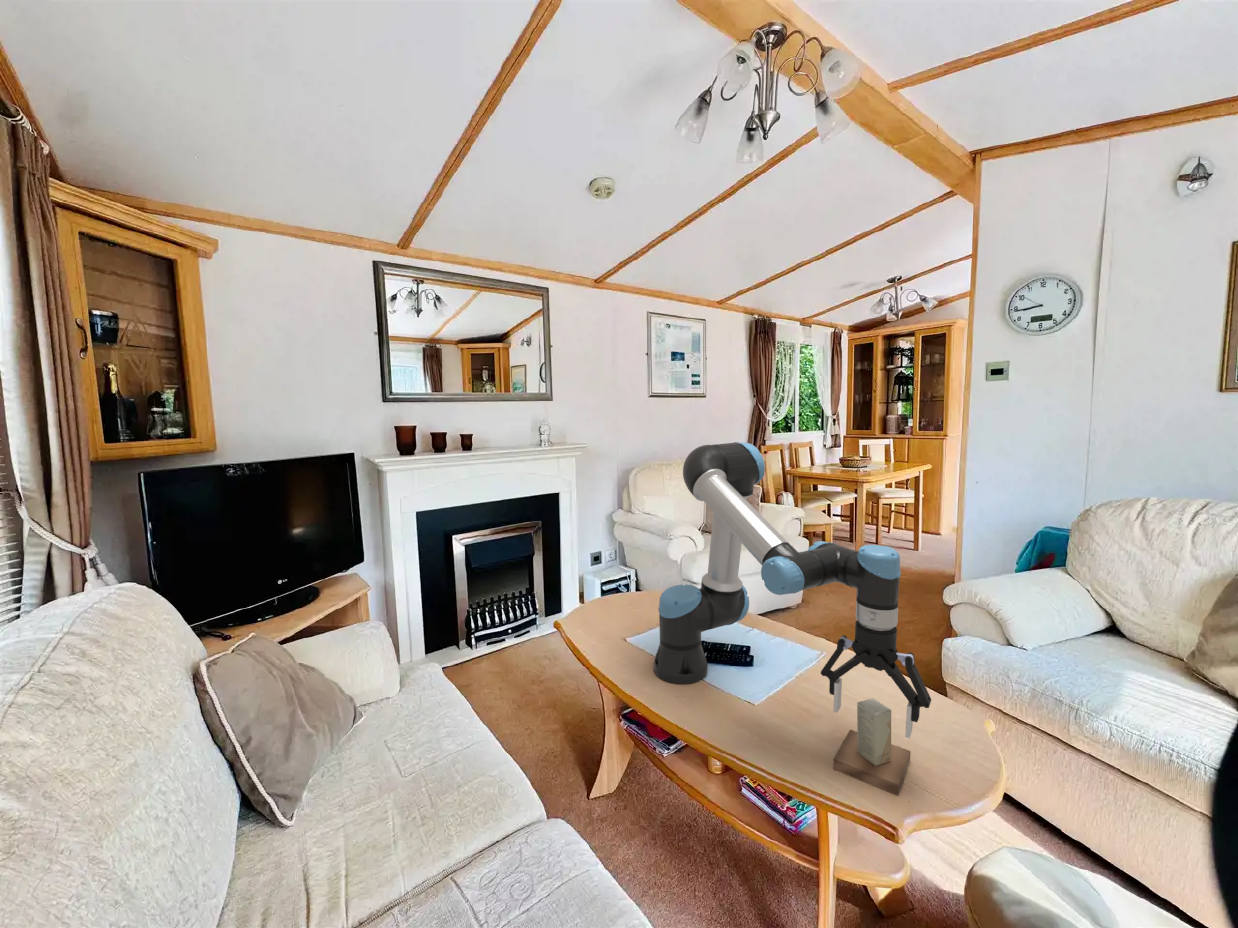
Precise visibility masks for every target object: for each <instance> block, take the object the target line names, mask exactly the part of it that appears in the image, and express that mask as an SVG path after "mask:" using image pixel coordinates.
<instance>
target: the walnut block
mask: <svg viewBox="0 0 1238 928" xmlns="http://www.w3.org/2000/svg"><path fill="white" fill-rule="evenodd" d="M911 754H912V753H911V750H909V749H906V748H905V747H904V748H903V747H901V746H898V745H895V744H892V743H891V761H888V762H886V763H883V764H880V765H877V766H875V765H874V764H873V763H871V762H870V761H868V760H867V759H866V758H865V757H863V756H862V755H861V754H860V753H858V752H857V731H856V730H853V729H849V730H848V732H847V734H846V735H845V737H844V739H843V741H842V743H841V745H840V747H839V748H838V750H837V752H836V754H835V755H834V757H833V767H832V768H833V770H834V771H837V772H838V773H840V774H841V773H842V774H844V775H847V776H848V777H851V778H853V779H856V780H858V781H861V782H863V783H865V784H868V785H870V786H872V787H873V786H874V787H875V788H878V789H881V790H883V791H886V792H888V793H890V794H893V795H895V796H897V797H898V796H899V794H900V793H901V789H902V787H903V783H904V781H905V780H904V779H905V777H906V775H907V771H908V768H909V766H910V763H911Z"/></svg>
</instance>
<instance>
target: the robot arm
mask: <svg viewBox="0 0 1238 928" xmlns="http://www.w3.org/2000/svg"><path fill="white" fill-rule="evenodd" d="M682 466H683V467H682V476H683V482H684V484H685V486H686V488H687V490H688V491H689V492H690V494H691V495H692V496H693V497H694V498H695V499H696V501H699V502H704V503H705V504H706V506H707V507H708V508H709V509H710V510H711V511H712V522H711V524H712V525H711V532H710V533H711V534H710V543H709V544H710V546H709V556H708V567H707V572H706V573H705V574H703V576H702V577H701V584H700V588H699V587H698V586H695V585H693V584H684V585H683V584H678V585H673V586H671V587H669V588H666V589H664V590H663V592H661V594H660V597H659V603H658V613H659V615H658V619H659V645H658V648H657V650H656V654H655V658H654V661H653V671H654V674H655V675H656V676H657V677H658V678H660V679H661V680H663V681H665V682H669V683H672V684H676V685H677V684H681V685H682V684H683V685H686V684H687V685H688V684H693V683H697V682H700V681H701V680H703V679H704V678H706V677H707V675H708V672H709V670H708V666H709V665H708V660H707V658H706V654H705V652H704V649H703V646H702V632H705V631H709V630H713V629H717V628H721V627H725V626H731V625H733V624H735V623H737V622H740V621H741V620H743V619H744V618H745V617H746V616H747V614H748V613H749V608H750V598H749V596H748V591H747V589H746V587H745V585H744V583H743V581H742V580H741V578H740V577H739V569H740V561H741V552H742V545H743V546H744V547H745V548H746V550H747V551H748V552H749V553H750V554H751V555H752V556H753V557H754V558H755V560H756V561H757V562H758V563H759V564H760V565H761V569H760V576H761V580H763V583H764V586H765V588H766V590H767V591H769V592H770V593H772V594H774V595H778V596H783V595H784V596H785V595H790V594H796V593H799V592H801V591H805V590H810V589H813V588H816V587H817V588H818V587H821V586H825V585H830V584H833V583H839V584H842V585H844V586H847V587H850V588H854V589H856V596H855V597H856V602H855V619H856V621H855V626H854V640H852V639H849V638H848V637H847V636H846V635H843V634H842V635H841V637H840V638H839V639H838V640H837V645H836V649H835V650H834V652H833V653H832V655H831V656H830V657H829V659H828V660H827V662H826V663H825V665H824V666H823V668H822V669H821V670H820V675H821V676H822V677H826V678H827V679H828V680H829V685H828V687H829V688H828V689H829V694H830V695H833V713H836V714H838V712H839V710H840V709H841V707H842V691H843V690H842V686H843V678H841V677H842V676H844V675H846V674H847V673H848V672H849V671H850V670H852V669H853V668H855V667H857V666H858V665H860V664H862V665H863V666H864V667H866V668H869V669H875V670H876V671H879V672H882V671H885V673H886V674H887V676H888V677H890V678H891V679H892V681H893V682H894V683H895V684H896V686H897V688H898V689H899V690H900V692H901V693H902V694H903V696H904V697H905V698H906V699H907V701H908V703H907V705H906V714H905V715H906V719H905V731H904V733H905V735H904V737H905V738H907V739H910V738H911V736H912V734H913V725H914V724H913V722H914V723H918V721H919V719H920V712H921V710H920V709H921V708H925V709H929V708H930V705H931V702H932V697H931V696H930V693H929V691H928V689H927V687H926V685H925V682H924V681H923V678H922V677H921V674H920V673H919V672H920V671H919V670H918V667H917V666H916V663H915V662H916V661H915V654H914V653H913V652H908V653H901V652H898V650H897V639H898V637H897V635H898V629H897V626H898V622H899V621H898V620H899V593H900V590H899V589H900V579H901V575H902V571H901V556H900V554H899V551H897V550H896V549H894V548H893V547H891V546H886V545H879V544H865V545H862V546H861V547H860V548H858V550H855V549H852V548H848V547H845V546H842V545H840V544H837V543H834V542H827V541H822V540H819V541H815V542H814V543H813V544H811V546H809V547H808V549H807V550H804V551H800V552H799V551H797V549H796V548H795V547H793V545H791V544H790V542H789V541H787V540H786V538H785V537H784V536H782V535H781V533H780V532H779V531H778V530H776V529H775V527H773V526H772V524H771V523H769V522H768V521H767V520H766V518H765V517H763V516H762V514H761V513H760V512H758V510H757V509H755V507H754V506H753V505H752V504H751V503H750V502H748V500H747V499H748V498H750V497H752V496H753V493H754V485H757V484H758V483H760V482H761V480H763V478H764V476H765V472H766V465H765V461H764V458H763V455H762V454H761V451H760V450H759V449H758V447H756V446H755V445H753V443H749V442H738V441H735V442H730V443H729V442H727V443H719V444H718V443H717V444H703V445H700V446H697V447H696V448H695V449H693V450H692V451H691V452H689V454H688V455H687V457H686V458H685V460H684V462H683V465H682ZM849 648H851V649H852V650H853V652H854V655H853V657H851V658H850V659H849V660H847V661H846V662H844V663H843V664H842V665H840V666H839V667H838V668H836V669H834V670H832V668H833V666H834V665H835V664H836V662H837V661H838V659H839V658H840V656H841V655H842V653H843V652H844V650H847V651H848V649H849ZM897 661H900V663H901V665H902V666H904V667H905V670H906V673H907V676H908V677H909V680H910V681H911V683H912V685H911V683H909V681H908V680H907V679H906V678H905V676H904V675H903V673H902V671H901V670H900V669H899V666H898V665H897V664H896V662H897ZM912 686H913V687H912Z"/></svg>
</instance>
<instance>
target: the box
mask: <svg viewBox="0 0 1238 928" xmlns="http://www.w3.org/2000/svg"><path fill="white" fill-rule="evenodd" d="M856 703H857V705H856V707H857V709H856V711H857V713H856V716H857V717H856V718H857V723H856V727H857V728H856V730H857V731H856V732H857V752H858V753H860V754H861V755H862V756H863V757H865V758H866V759H867V760H868V761H870V762H871V763H873V764H874V765H875V766H877V765H880V764H883V763H886V762H888V761H891V744H892V709H891V708H889V707H888V706H886V705H884V704H883V703H881V702H880V701H879V700H877V699H875V698H872V697H871V698H868V699H864V700H860V701H857V702H856Z"/></svg>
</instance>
